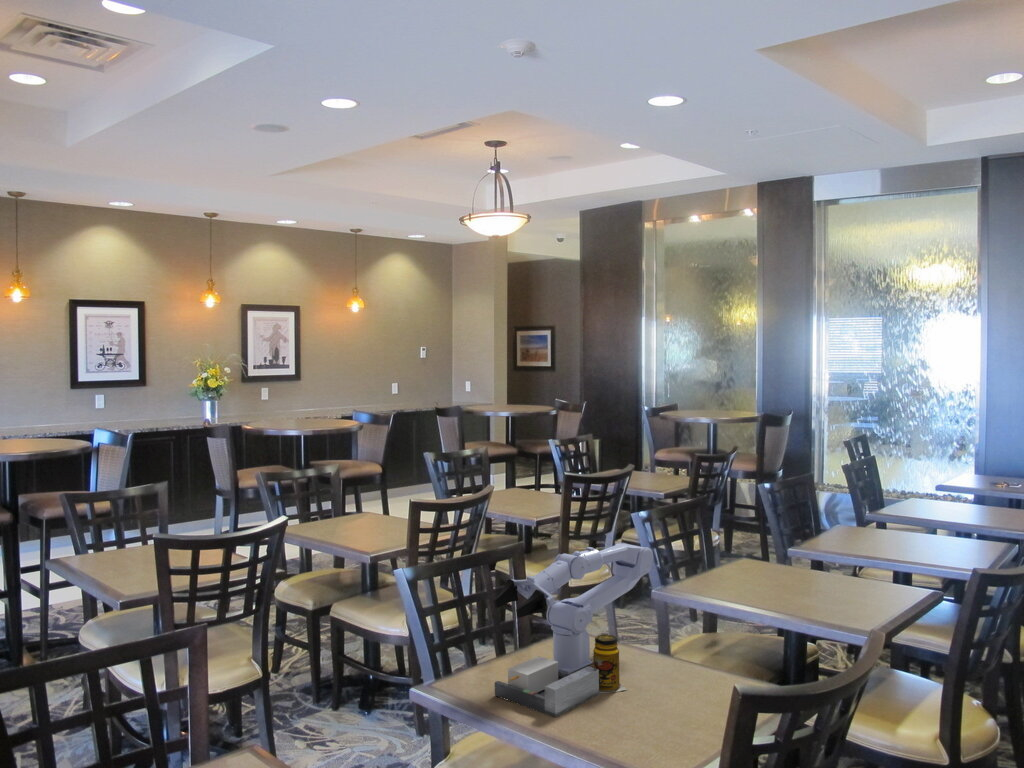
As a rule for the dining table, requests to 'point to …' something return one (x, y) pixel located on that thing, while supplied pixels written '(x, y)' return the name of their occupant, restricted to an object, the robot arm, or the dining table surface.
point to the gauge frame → (555, 692)
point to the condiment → (607, 663)
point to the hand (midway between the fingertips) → (506, 608)
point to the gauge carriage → (533, 674)
